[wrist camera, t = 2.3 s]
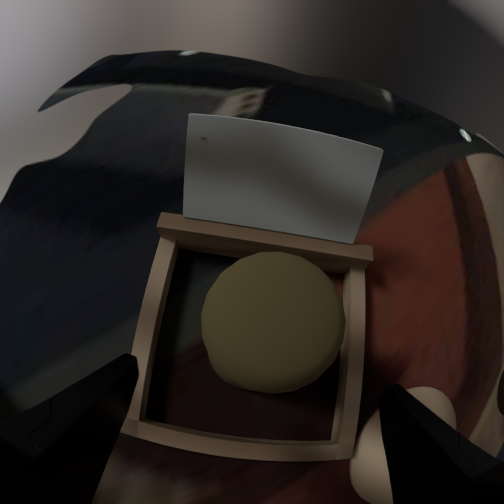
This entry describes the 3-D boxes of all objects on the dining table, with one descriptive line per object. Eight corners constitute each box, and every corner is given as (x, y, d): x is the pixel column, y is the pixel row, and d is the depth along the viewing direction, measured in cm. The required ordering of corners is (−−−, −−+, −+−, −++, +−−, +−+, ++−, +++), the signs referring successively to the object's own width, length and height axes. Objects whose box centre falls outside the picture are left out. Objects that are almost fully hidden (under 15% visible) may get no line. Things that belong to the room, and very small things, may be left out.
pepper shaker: (218, 398, 16) (206, 431, 6) (199, 314, 19) (169, 241, 9) (304, 377, 17) (392, 371, 7) (282, 297, 20) (336, 213, 10)
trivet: (402, 515, 11) (405, 517, 11) (320, 476, 14) (322, 479, 13) (466, 418, 16) (470, 418, 15) (403, 362, 18) (407, 362, 18)
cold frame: (343, 453, 15) (417, 489, 7) (127, 428, 14) (57, 456, 6) (354, 224, 23) (404, 153, 15) (180, 196, 23) (164, 109, 15)
